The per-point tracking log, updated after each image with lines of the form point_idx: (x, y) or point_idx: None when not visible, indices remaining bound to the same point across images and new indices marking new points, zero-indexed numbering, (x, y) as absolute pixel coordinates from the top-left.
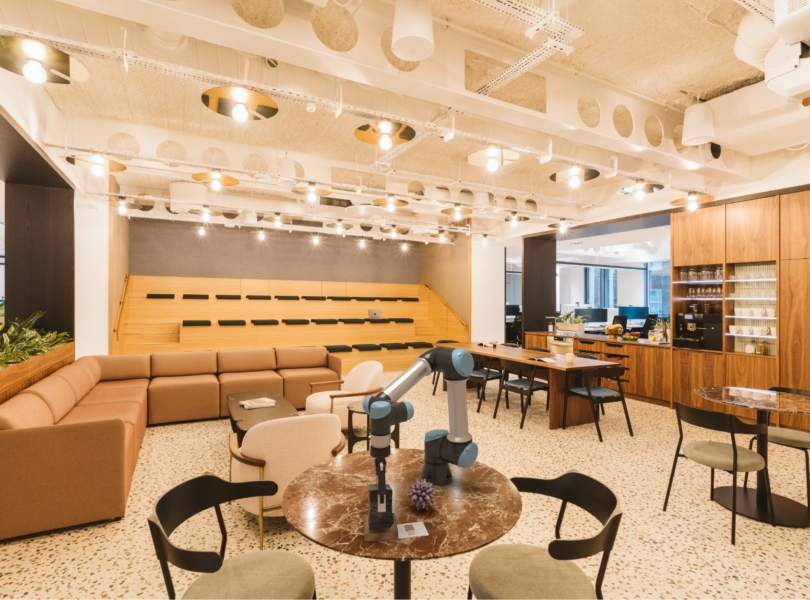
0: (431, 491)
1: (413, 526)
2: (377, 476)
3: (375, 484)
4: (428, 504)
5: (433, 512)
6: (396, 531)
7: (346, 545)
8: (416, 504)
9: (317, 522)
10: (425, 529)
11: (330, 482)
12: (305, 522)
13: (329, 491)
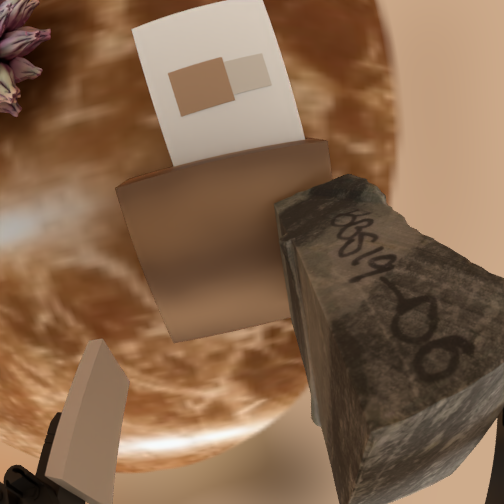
0: None
1: (183, 65)
2: (96, 502)
3: (358, 501)
4: (29, 16)
5: (47, 9)
6: (321, 150)
7: None
8: (29, 73)
9: (207, 428)
10: (211, 7)
11: (9, 417)
12: (213, 444)
13: (42, 421)
